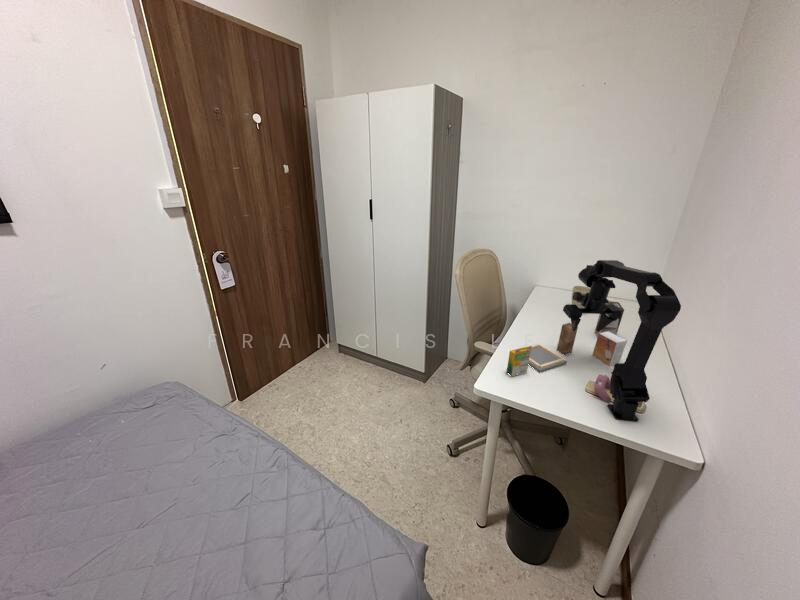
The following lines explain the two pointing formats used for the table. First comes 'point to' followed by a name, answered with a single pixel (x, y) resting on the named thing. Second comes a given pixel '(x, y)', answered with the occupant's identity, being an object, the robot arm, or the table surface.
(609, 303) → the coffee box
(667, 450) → the table surface
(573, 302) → the mug
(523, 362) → the crayon box
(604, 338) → the small box
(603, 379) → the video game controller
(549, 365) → the baseplate
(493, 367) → the table surface
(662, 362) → the table surface
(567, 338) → the walnut column
